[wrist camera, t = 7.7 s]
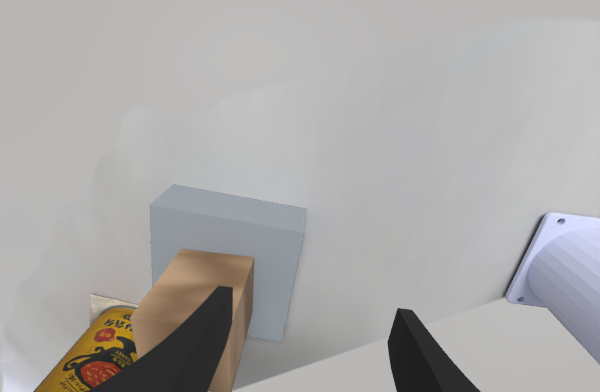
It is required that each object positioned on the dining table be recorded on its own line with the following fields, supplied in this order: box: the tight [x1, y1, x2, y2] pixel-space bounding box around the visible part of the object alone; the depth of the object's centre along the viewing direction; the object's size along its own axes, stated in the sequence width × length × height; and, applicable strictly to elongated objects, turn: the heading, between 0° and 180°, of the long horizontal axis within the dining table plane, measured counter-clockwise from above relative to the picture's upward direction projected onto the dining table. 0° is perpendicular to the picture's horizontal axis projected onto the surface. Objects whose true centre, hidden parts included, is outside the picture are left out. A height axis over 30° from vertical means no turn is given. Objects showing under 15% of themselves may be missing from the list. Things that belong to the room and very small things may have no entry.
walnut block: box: [130, 249, 254, 392], centre depth 19 cm, size 5×5×6 cm
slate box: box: [150, 184, 306, 342], centre depth 23 cm, size 10×10×4 cm
